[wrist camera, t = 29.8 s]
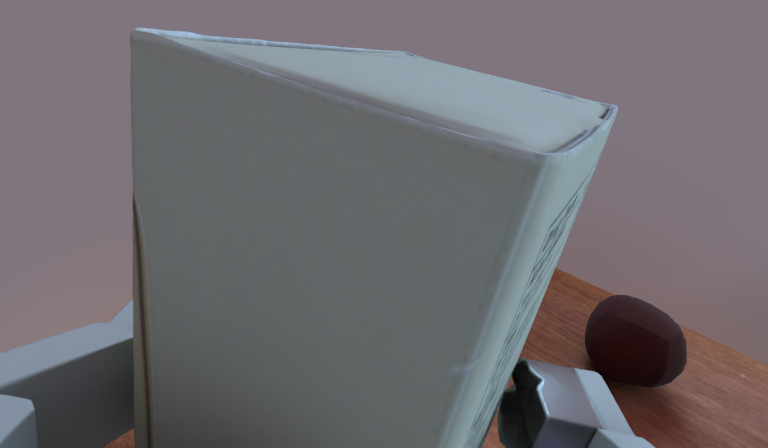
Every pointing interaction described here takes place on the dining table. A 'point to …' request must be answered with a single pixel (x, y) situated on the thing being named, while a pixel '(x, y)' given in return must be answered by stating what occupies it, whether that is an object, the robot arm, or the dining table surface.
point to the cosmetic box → (339, 240)
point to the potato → (635, 342)
